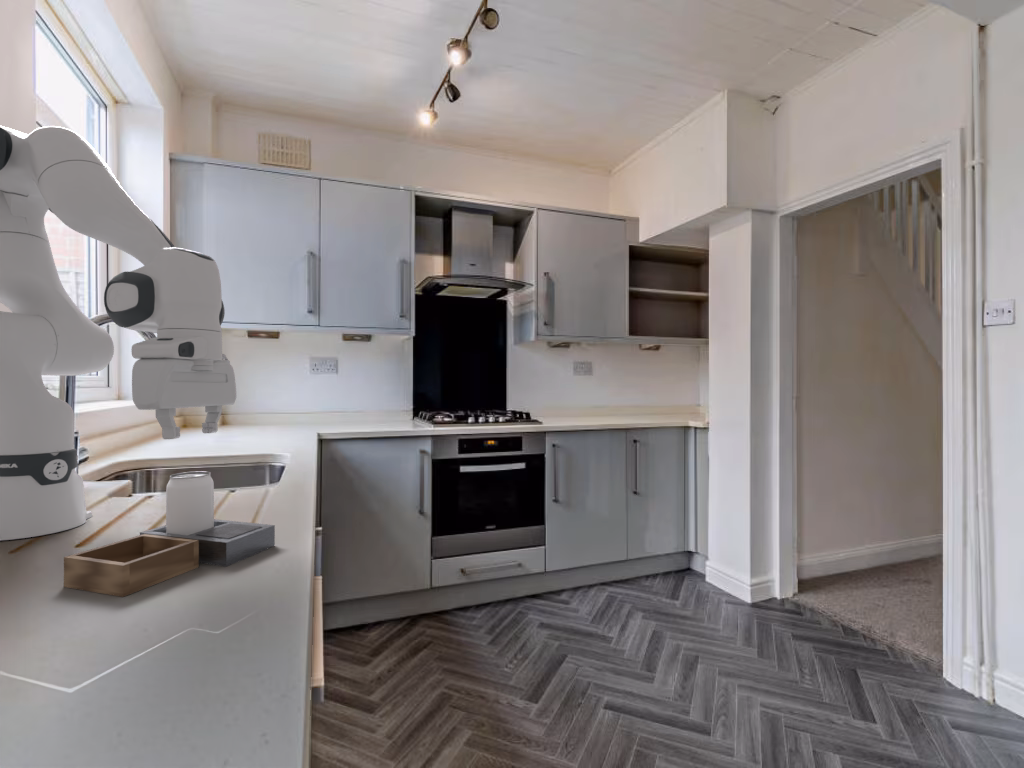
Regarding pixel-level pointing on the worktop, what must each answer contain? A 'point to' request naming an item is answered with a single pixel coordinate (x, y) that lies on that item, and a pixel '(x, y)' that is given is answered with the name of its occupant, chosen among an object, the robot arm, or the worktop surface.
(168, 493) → the can
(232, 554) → the tray
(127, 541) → the box
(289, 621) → the worktop surface
